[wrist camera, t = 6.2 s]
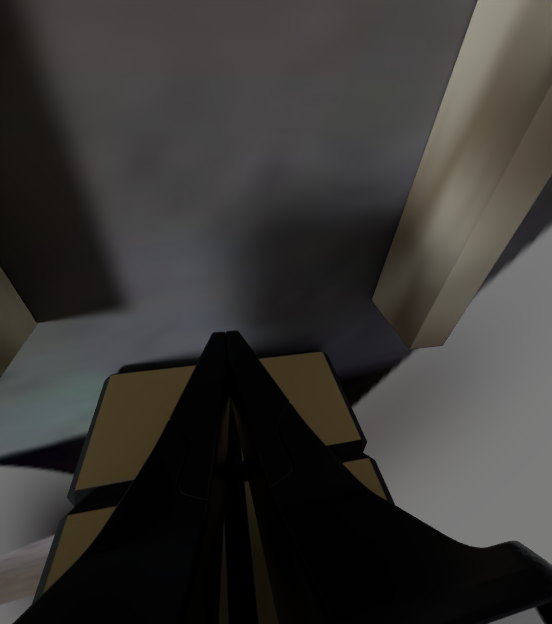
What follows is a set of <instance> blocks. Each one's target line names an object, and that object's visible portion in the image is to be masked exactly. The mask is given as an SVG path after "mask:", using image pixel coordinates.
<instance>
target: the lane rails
mask: <svg viewBox="0 0 552 624" xmlns="http://www.w3.org/2000/svg"><path fill="white" fill-rule="evenodd" d="M551 175H552V0H478V1H477V4H476V7H475V10H474V13H473V16H472V18H471V21H470V24H469V27H468V30H467V33H466V35H465V38H464V41H463V44H462V47H461V49H460V52H459V55H458V58H457V61H456V64H455V66H454V69H453V72H452V75H451V78H450V81H449V83H448V86H447V89H446V92H445V95H444V97H443V100H442V103H441V106H440V109H439V112H438V114H437V117H436V120H435V123H434V126H433V129H432V131H431V134H430V137H429V140H428V143H427V145H426V148H425V151H424V154H423V157H422V160H421V162H420V165H419V168H418V171H417V174H416V177H415V179H414V182H413V185H412V188H411V191H410V193H409V196H408V199H407V202H406V205H405V208H404V210H403V213H402V216H401V219H400V222H399V225H398V227H397V230H396V233H395V236H394V239H393V241H392V244H391V247H390V250H389V253H388V256H387V258H386V261H385V264H384V267H383V270H382V273H381V275H380V278H379V281H378V284H377V287H376V289H375V292H374V295H373V298H372V301H373V302H374V304H375V305H376V306H377V308H378V309H379V310H380V312H381V313H382V314H383V316H384V317H385V318H386V319H387V321H388V322H389V323H390V325H391V326H392V327H393V329H394V330H395V331H396V333H397V334H398V335H399V336H400V338H401V339H402V340H403V342H404V343H405V344H406V346H407V347H408V348H409V349H418V348H426V347H435V346H442V345H443V344H444V343H445V341H446V340H447V338H448V337H449V335H450V333H451V332H452V330H453V329H454V327H455V326H456V324H457V322H458V321H459V319H460V318H461V316H462V315H463V313H464V312H465V310H466V308H467V307H468V305H469V304H470V302H471V301H472V299H473V297H474V296H475V294H476V293H477V291H478V290H479V288H480V286H481V285H482V283H483V282H484V280H485V279H486V277H487V276H488V274H489V272H490V271H491V269H492V268H493V266H494V265H495V263H496V261H497V260H498V258H499V257H500V255H501V254H502V252H503V250H504V249H505V247H506V246H507V244H508V243H509V241H510V240H511V238H512V236H513V235H514V233H515V232H516V230H517V229H518V227H519V225H520V224H521V222H522V221H523V219H524V218H525V216H526V215H527V213H528V211H529V210H530V208H531V207H532V205H533V204H534V202H535V200H536V199H537V197H538V196H539V194H540V193H541V191H542V189H543V188H544V186H545V185H546V183H547V182H548V180H549V179H550V177H551ZM36 325H37V323H36V321H35V320H34V318H33V317H32V315H31V313H30V312H29V310H28V309H27V307H26V306H25V304H24V303H23V301H22V299H21V298H20V296H19V295H18V293H17V292H16V290H15V289H14V287H13V285H12V284H11V282H10V281H9V279H8V278H7V276H6V275H5V273H4V271H3V270H2V268H1V267H0V377H1V376H2V374H3V373H4V371H5V370H6V369H7V367H8V366H9V364H10V363H11V361H12V360H13V358H14V357H15V356H16V354H17V353H18V351H19V350H20V348H21V347H22V345H23V344H24V342H25V341H26V340H27V338H28V337H29V335H30V334H31V332H32V331H33V329H34V328H35V327H36Z"/></svg>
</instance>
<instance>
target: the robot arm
mask: <svg viewBox="0 0 552 624" xmlns="http://www.w3.org/2000/svg"><path fill="white" fill-rule="evenodd" d="M229 386H230V388H229ZM230 396H231V401H232V406H233V411H234V416H235V420H236V425H237V430H238V434H239V439H240V444H241V449H242V453H243V458H244V463H245V468H246V472H247V477H248V482H249V486H250V491H251V496H252V501H253V505H254V510H255V515H256V520H257V524H258V529H259V534H260V538H261V541H262V542H261V543H262V548H263V553H264V558H265V562H266V567H267V572H268V576H269V581H270V586H271V591H272V595H273V600H274V605H275V610H276V614H277V619H278V624H552V565H551V564H550V563H548V562H547V561H546V560H545V559H543V558H542V557H540V556H539V555H537V554H536V553H534V552H533V551H532V550H530V549H529V548H527V547H526V546H524V545H523V544H521V543H520V542H518V541H508V542H504V543H501V544H497V545H494V546H490V547H486V548H478V547H472V546H468V545H465V544H463V543H460V542H457V541H456V540H453V539H452V538H450V537H448V536H446V535H444V534H442V533H441V532H439V531H438V530H436V529H434V528H433V527H431V526H429V525H427V524H426V523H424V522H422V521H421V520H419V519H417V518H416V517H414V516H412V515H411V514H409V513H407V512H406V511H403V510H402V509H401V508H399V507H397V506H395V505H394V504H392V503H390V502H389V501H387V500H385V499H384V498H382V497H380V496H379V495H377V494H376V493H374V492H373V491H371V490H370V489H369V488H367V487H366V486H365V485H364V484H363V483H362V482H360V481H359V480H358V479H357V478H356V477H355V476H354V475H353V474H352V473H351V472H350V470H349V469H348V468H347V467H346V466H345V465H344V464H343V463H342V462H341V461H340V460H339V459H338V458H337V457H336V456H335V454H334V453H333V452H332V451H331V450H330V449H329V448H328V447H327V446H326V445H325V444H324V443H323V442H322V441H321V439H320V438H319V437H318V436H317V435H316V434H315V433H314V432H313V430H312V429H311V428H310V427H309V426H308V425H307V423H306V422H305V421H304V420H303V418H302V417H301V416H300V414H299V413H298V412H297V410H296V409H295V408H294V406H293V405H292V404H291V403H289V402H290V401H289V400H288V398H287V397H286V396H285V394H284V393H283V391H282V390H281V389H280V387H279V386H278V385H277V383H276V382H275V381H274V379H273V378H272V376H271V375H270V374H269V372H268V371H267V370H266V368H265V367H264V365H263V364H262V363H261V361H260V360H259V359H258V357H257V356H256V355H255V353H254V352H253V350H252V349H251V348H250V346H249V345H248V344H247V342H246V341H245V339H244V338H243V337H242V335H241V334H240V333H239V332H238V331H227V332H226V335H225V332H214V333H212V335H211V337H210V339H209V341H208V343H207V345H206V347H205V349H204V351H203V353H202V355H201V357H200V358H199V360H198V362H197V364H196V366H195V368H194V370H193V372H192V374H191V376H190V378H189V380H188V382H187V384H186V386H185V388H184V390H183V392H182V394H181V396H180V398H179V400H178V402H177V404H176V406H175V408H174V410H173V412H172V414H171V416H170V420H168V422H167V424H166V426H165V428H164V430H163V432H162V433H161V435H160V437H159V439H158V441H157V443H156V444H155V446H154V448H153V450H152V452H151V453H150V455H149V457H148V458H147V460H146V461H145V463H144V465H143V466H142V468H141V470H140V471H139V473H138V474H137V476H136V477H135V479H134V480H133V482H132V483H131V485H130V487H129V488H128V490H127V491H126V493H125V494H124V496H123V497H122V499H121V500H120V502H119V503H118V505H117V507H116V508H115V510H114V511H113V513H112V514H111V516H110V517H109V519H108V520H107V522H106V523H105V525H104V526H103V528H102V529H101V531H100V532H99V534H98V535H97V536H96V538H95V539H94V540H93V542H92V543H91V544H90V545H89V547H88V548H87V549H86V550H85V551H84V553H83V554H82V555H81V556H80V557H79V558H78V559H77V560H76V561H75V562H74V563H73V564H72V565H71V566H70V567H69V568H68V569H67V570H66V571H65V572H64V573H63V574H62V575H61V576H60V577H59V578H58V579H57V580H56V581H55V582H54V583H53V584H52V585H51V586H50V587H49V588H48V589H47V590H46V591H45V592H44V593H43V594H42V595H41V596H40V597H39V598H38V599H37V600H36V601H35V602H34V603H33V604H32V605H31V606H30V607H29V608H28V609H27V610H26V611H25V612H24V613H23V614H22V615H21V616H20V617H19V618H18V619H17V620H16V621H15V622H14V623H13V624H219V608H220V588H221V568H222V547H223V527H224V507H225V487H226V467H227V447H228V427H229V407H230Z"/></svg>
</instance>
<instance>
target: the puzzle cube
mask: <svg viewBox="0 0 552 624" xmlns="http://www.w3.org/2000/svg"><path fill="white" fill-rule="evenodd" d="M258 359H259V360H260V361H261V363H262V364H263V365H264V367H265V368H266V370H267V371H268V372H269V374H270V375H271V376H272V378H273V379H274V381H275V382H276V383H277V385H278V386H279V387H280V389H281V390H282V391H283V393H284V394H285V396H286V397H287V398H288V400H289V401H290V402H289V403H291V404H292V405H293V406H294V408H295V409H296V410H297V412H298V413H299V414H300V416H301V417H302V418H303V420H304V421H305V422H306V423H307V425H308V426H309V427H310V428H311V429H312V430H313V432H314V433H315V434H316V435H317V436H318V437H319V438H320V439H321V441H322V442H323V443H324V444H325V445H326V446H327V447H328V448H329V449H330V450H331V451H332V452H333V453H334V454H335V456H336V457H337V458H338V459H339V460H340V461H341V462H342V463H343V464H344V465H345V466H346V467H347V468H348V469H349V470H350V472H351V473H352V474H353V475H354V476H355V477H356V478H357V479H358V480H359V481H360V482H362V483H363V484H364V485H365V486H366V487H367V488H369V489H370V490H371V491H373V492H374V493H376V494H377V495H379V496H380V497H382V498H384V499H385V500H387V501H389V502H390V503H392V504H394V502H393V499H392V497H391V495H390V493H389V490H388V488H387V486H386V484H385V482H384V479H383V477H382V475H381V473H380V470H379V468H378V466H377V463H376V461H375V460H374V459H372V458H371V457H369V456H367V455H366V454H364V453H363V451H364V448H365V446H366V443H367V440H366V438H365V436H364V434H363V432H362V430H361V427H360V425H359V423H358V421H357V419H356V416H355V414H354V412H353V410H352V408H351V405H350V403H349V401H348V399H347V397H346V394H345V392H344V390H343V388H342V386H341V383H340V381H339V379H338V377H337V375H336V372H335V370H334V368H333V366H332V364H331V361H330V359H329V357H328V355H327V354H326V353H324V352H323V351H314V352H305V353H296V354H288V355H279V356H270V357H261V358H258ZM195 366H196V365H187V366H178V367H169V368H161V369H152V370H143V371H134V372H125V373H116V374H112V375H110V376H109V377H108V378H107V379H106V380H105V382H104V385H103V388H102V391H101V394H100V397H99V400H98V403H97V406H96V409H95V412H94V416H93V419H92V422H91V425H90V428H89V431H88V434H87V437H86V440H85V443H84V446H83V449H82V452H81V455H80V458H79V462H78V465H77V468H76V471H75V474H74V477H73V480H72V483H71V486H70V489H69V492H68V495H67V498H68V499H69V500H70V502H71V503H72V504H73V505H74V508H73V509H72V510H71V511H70V512H69V513H68V514H67V515H66V516H65V517H64V518H63V519H61V520H60V522H59V525H58V527H57V531H56V534H55V536H54V539H53V542H52V545H51V548H50V551H49V554H48V558H47V561H46V564H45V567H44V570H43V573H42V576H41V579H40V582H39V585H38V588H37V591H36V594H35V597H34V600H33V603H34V602H35V601H36V600H37V599H38V598H39V597H40V596H41V595H42V594H43V593H44V592H45V591H46V590H47V589H48V588H49V587H50V586H51V585H52V584H53V583H54V582H55V581H56V580H57V579H58V578H59V577H60V576H61V575H62V574H63V573H64V572H65V571H66V570H67V569H68V568H69V567H70V566H71V565H72V564H73V563H74V562H75V561H76V560H77V559H78V558H79V557H80V556H81V555H82V554H83V553H84V551H85V550H86V549H87V548H88V547H89V545H90V544H91V543H92V542H93V540H94V539H95V538H96V536H97V535H98V534H99V532H100V531H101V529H102V528H103V526H104V525H105V523H106V522H107V520H108V519H109V517H110V516H111V514H112V513H113V511H114V510H115V508H116V507H117V505H118V503H119V502H120V500H121V499H122V497H123V496H124V494H125V493H126V491H127V490H128V488H129V487H130V485H131V483H132V482H133V480H134V479H135V477H136V476H137V474H138V473H139V471H140V470H141V468H142V466H143V465H144V463H145V461H146V460H147V458H148V457H149V455H150V453H151V452H152V450H153V448H154V446H155V444H156V443H157V441H158V439H159V437H160V435H161V433H162V432H163V430H164V428H165V426H166V424H167V422H168V420H170V416H171V414H172V412H173V410H174V408H175V406H176V404H177V402H178V400H179V398H180V396H181V394H182V392H183V390H184V388H185V386H186V384H187V382H188V380H189V378H190V376H191V374H192V372H193V370H194V368H195ZM229 388H230V386H229ZM394 505H395V504H394ZM261 542H262V541H261V538H260V534H259V529H258V524H257V520H256V515H255V510H254V505H253V501H252V496H251V491H250V486H249V482H248V477H247V472H246V468H245V463H244V458H243V453H242V449H241V444H240V439H239V434H238V430H237V425H236V420H235V416H234V411H233V406H232V401H231V396H230V407H229V427H228V447H227V467H226V487H225V507H224V527H223V547H222V568H221V588H220V608H219V624H278V619H277V614H276V610H275V605H274V600H273V595H272V591H271V586H270V581H269V576H268V572H267V567H266V562H265V558H264V553H263V548H262V543H261ZM33 603H32V604H33Z"/></svg>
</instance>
